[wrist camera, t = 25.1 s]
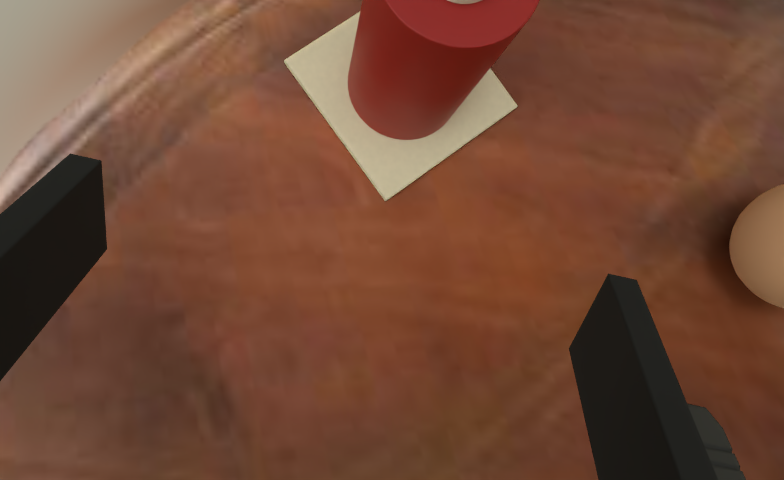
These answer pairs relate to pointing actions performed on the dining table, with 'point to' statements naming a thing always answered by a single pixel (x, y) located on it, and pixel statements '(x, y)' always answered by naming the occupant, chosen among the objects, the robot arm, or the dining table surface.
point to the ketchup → (426, 58)
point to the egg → (761, 246)
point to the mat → (371, 149)
